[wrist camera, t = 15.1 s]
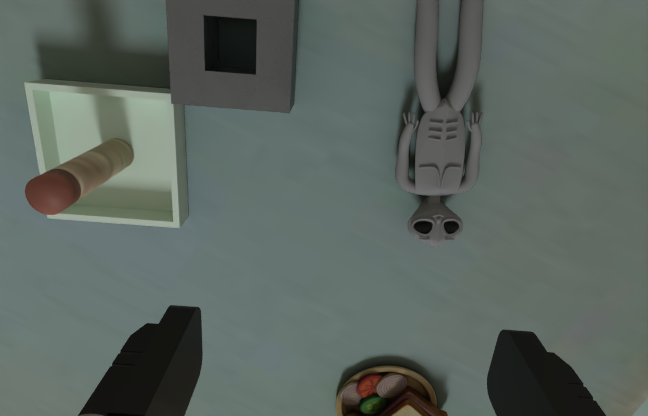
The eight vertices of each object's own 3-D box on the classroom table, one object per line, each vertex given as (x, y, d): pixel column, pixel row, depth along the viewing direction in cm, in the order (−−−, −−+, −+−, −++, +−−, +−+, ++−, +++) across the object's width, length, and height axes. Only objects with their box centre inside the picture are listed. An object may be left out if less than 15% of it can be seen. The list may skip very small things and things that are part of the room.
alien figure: (515, -39, 34) (478, 255, 43) (493, -28, 39) (464, 235, 47) (411, -38, 34) (395, 254, 43) (401, -28, 39) (388, 234, 47)
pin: (101, 137, 43) (21, 175, 32) (132, 139, 43) (63, 178, 32) (105, 166, 44) (29, 213, 33) (135, 169, 44) (69, 216, 33)
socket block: (184, -23, 38) (164, -30, 34) (299, -13, 38) (295, -19, 34) (188, 95, 42) (171, 103, 37) (293, 103, 42) (289, 113, 38)
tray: (44, 78, 42) (24, 82, 39) (183, 89, 42) (172, 93, 39) (64, 206, 46) (47, 218, 44) (188, 216, 47) (179, 227, 44)
